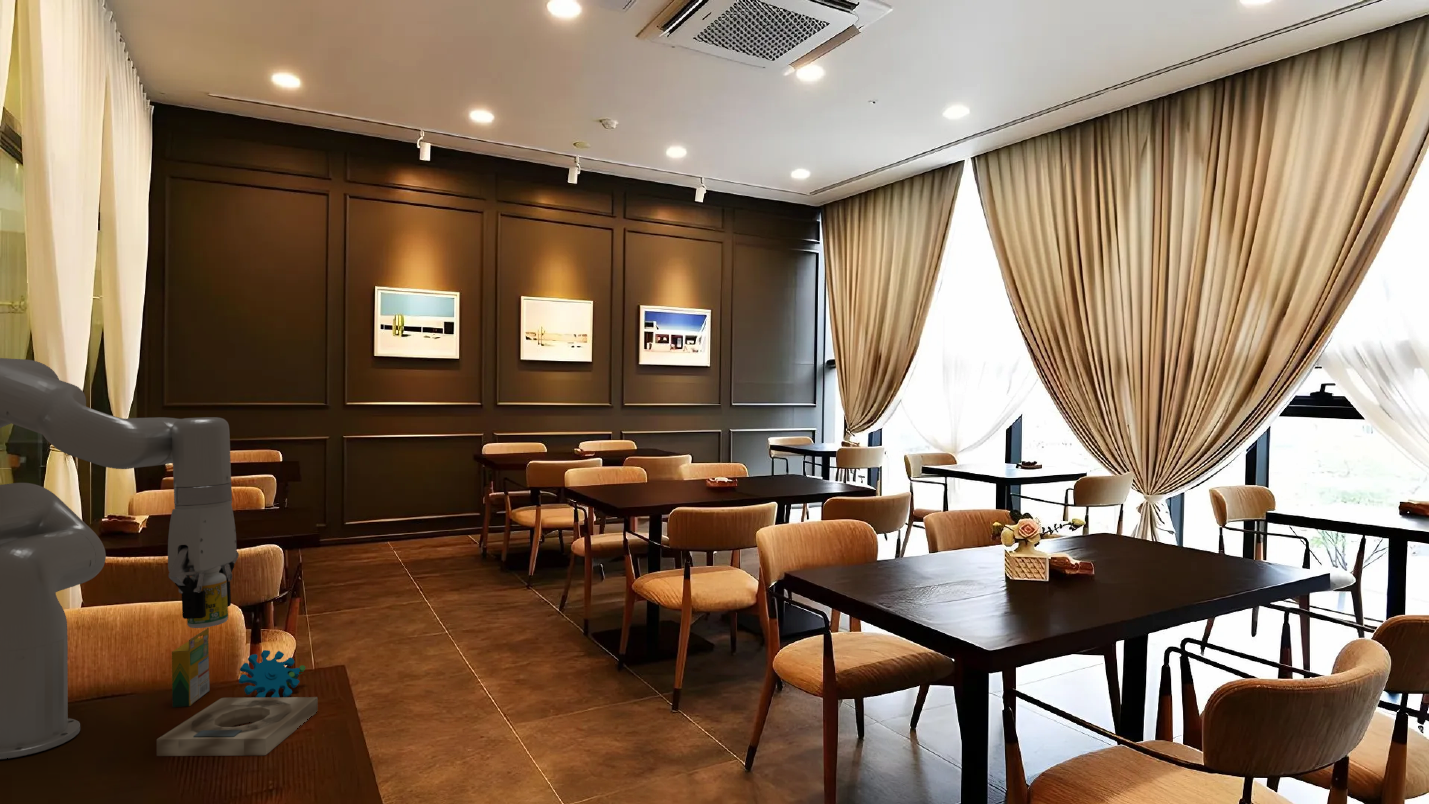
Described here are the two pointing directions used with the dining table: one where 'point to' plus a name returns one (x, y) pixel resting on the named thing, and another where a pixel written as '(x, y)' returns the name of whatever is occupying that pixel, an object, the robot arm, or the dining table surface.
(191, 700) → the crayon box
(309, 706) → the socket board
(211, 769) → the dining table surface
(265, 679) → the blue virus toy
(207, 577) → the supplement bottle
